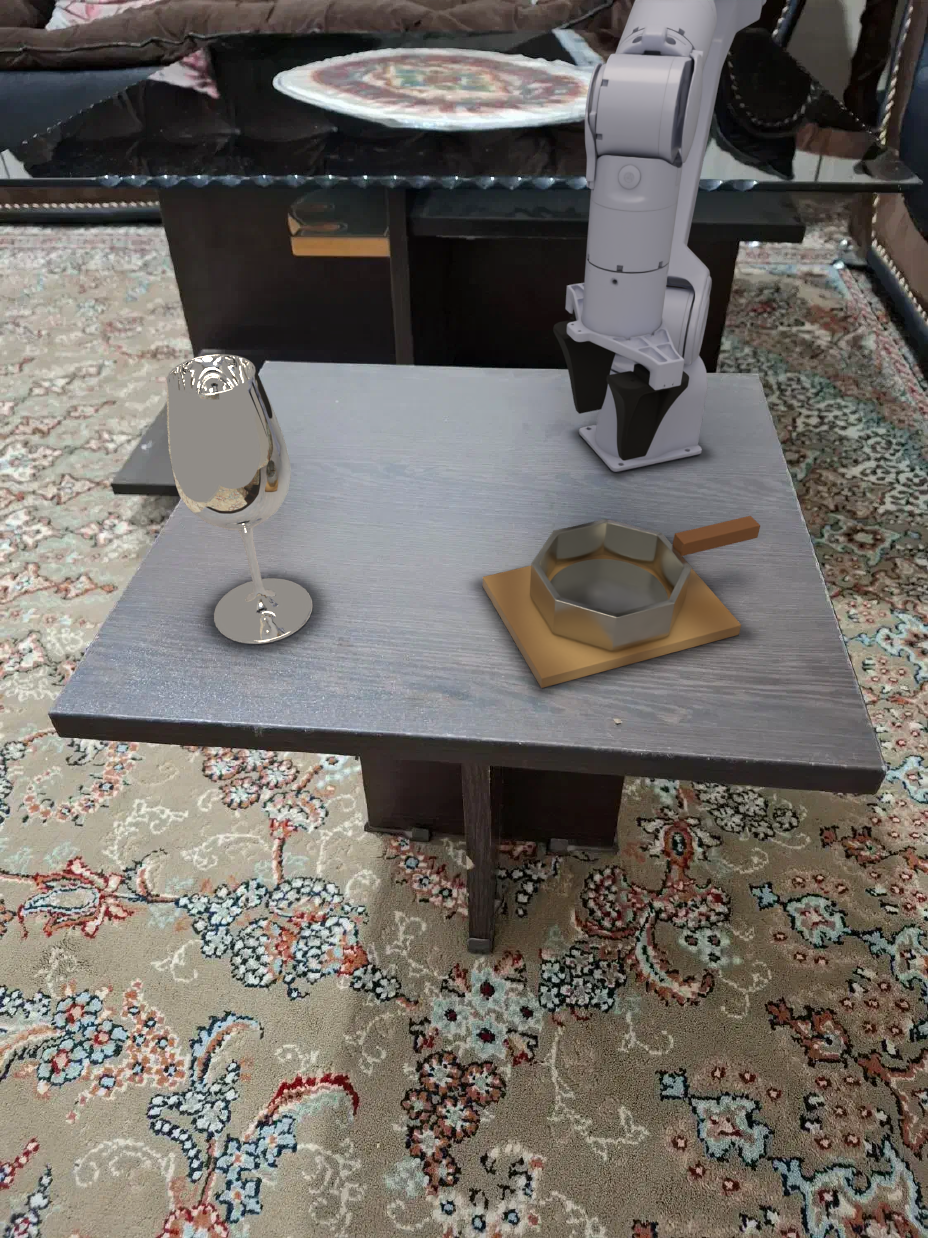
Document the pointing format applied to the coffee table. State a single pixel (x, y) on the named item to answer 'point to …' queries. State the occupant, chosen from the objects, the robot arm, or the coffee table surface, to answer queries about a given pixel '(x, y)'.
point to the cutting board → (576, 659)
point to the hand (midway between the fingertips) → (609, 432)
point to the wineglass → (234, 481)
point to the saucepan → (621, 579)
